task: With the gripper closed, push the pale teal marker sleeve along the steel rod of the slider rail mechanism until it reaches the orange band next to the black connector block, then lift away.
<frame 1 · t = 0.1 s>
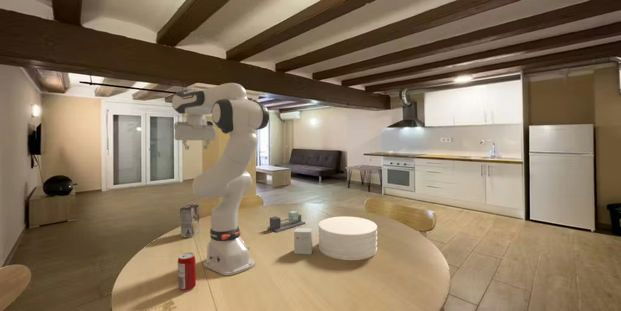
hand: (196, 149, 135), 48 cm above the table, tool pointing down, fingers open, 8 cm apart
small box: (303, 252, 123), on the table
plate stack: (347, 248, 128), on the table
sleeve: (293, 216, 164), point 5 cm above the table, slide at 0.0 cm
soda can: (187, 288, 93), on the table
slider rail mechanism: (287, 226, 161), on the table
coffee box: (190, 235, 146), on the table
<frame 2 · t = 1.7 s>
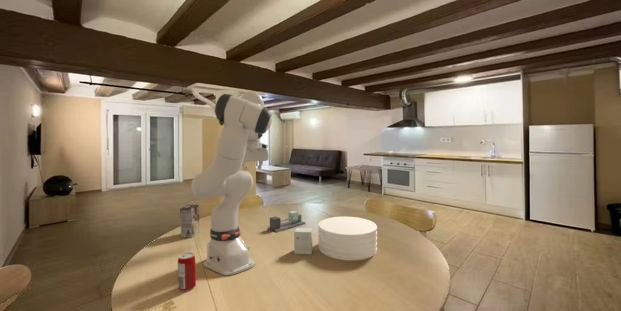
hand: (252, 169, 151), 36 cm above the table, tool pointing down, fingers open, 8 cm apart
nothing on the table moved.
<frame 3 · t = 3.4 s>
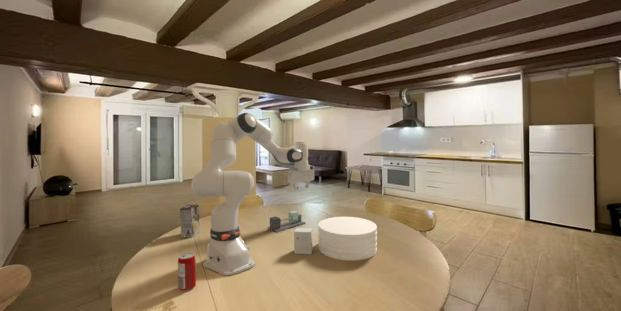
hand: (301, 188, 168), 21 cm above the table, tool pointing down, fingers open, 8 cm apart
nothing on the table moved.
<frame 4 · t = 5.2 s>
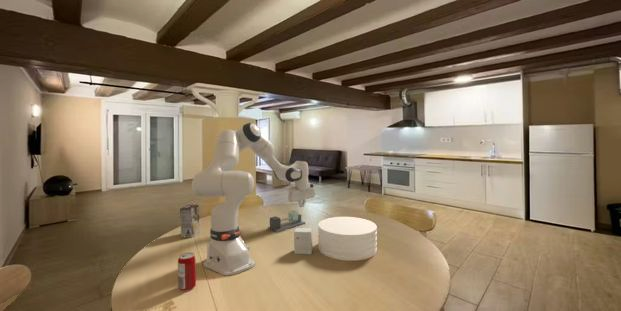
hand: (301, 206, 169), 10 cm above the table, tool pointing down, fingers closed
nothing on the table moved.
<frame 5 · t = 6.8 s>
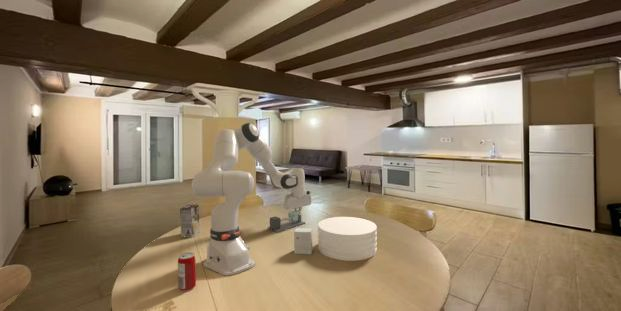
hand: (298, 214, 166), 6 cm above the table, tool pointing down, fingers closed
sleeve: (293, 216, 164), point 5 cm above the table, slide at 0.1 cm, touching gripper
everything else where it was.
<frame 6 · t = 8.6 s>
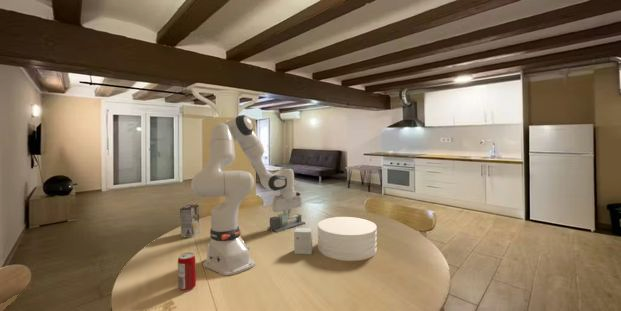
hand: (287, 216, 160), 6 cm above the table, tool pointing down, fingers closed
sleeve: (282, 219, 158), point 5 cm above the table, slide at 8.4 cm, touching gripper
everything else where it was.
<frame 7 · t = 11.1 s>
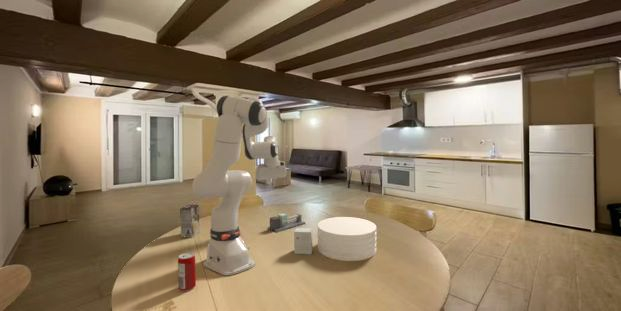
hand: (271, 186, 159), 25 cm above the table, tool pointing down, fingers closed
sleeve: (282, 219, 158), point 5 cm above the table, slide at 8.5 cm
everything else where it was.
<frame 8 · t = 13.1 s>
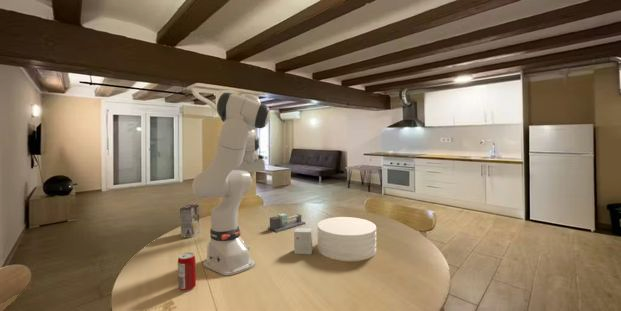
hand: (249, 179, 156), 29 cm above the table, tool pointing down, fingers closed
at the end: sleeve slide at 8.5 cm; sleeve touching nothing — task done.
